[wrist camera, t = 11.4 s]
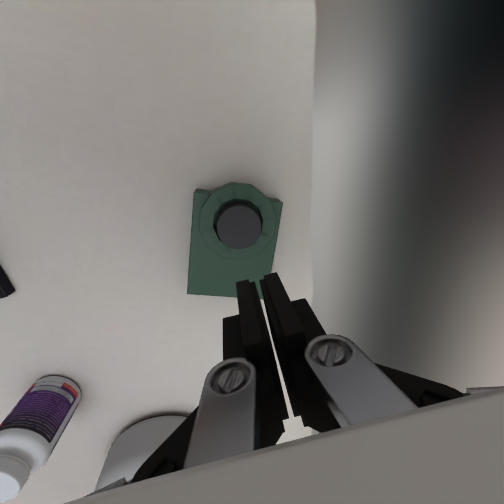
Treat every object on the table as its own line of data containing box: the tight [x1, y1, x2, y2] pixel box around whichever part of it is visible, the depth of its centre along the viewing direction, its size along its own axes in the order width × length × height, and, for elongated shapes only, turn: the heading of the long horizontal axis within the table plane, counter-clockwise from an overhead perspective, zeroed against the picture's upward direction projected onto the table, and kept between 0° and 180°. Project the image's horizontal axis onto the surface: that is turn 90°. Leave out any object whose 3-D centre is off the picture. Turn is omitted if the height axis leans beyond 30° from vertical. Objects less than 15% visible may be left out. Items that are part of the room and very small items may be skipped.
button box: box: [187, 182, 283, 299], centre depth 26 cm, size 11×8×4 cm
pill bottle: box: [0, 376, 81, 502], centre depth 28 cm, size 5×5×10 cm
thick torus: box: [94, 416, 187, 492], centre depth 34 cm, size 15×15×7 cm
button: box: [217, 202, 261, 249], centre depth 23 cm, size 4×4×2 cm
